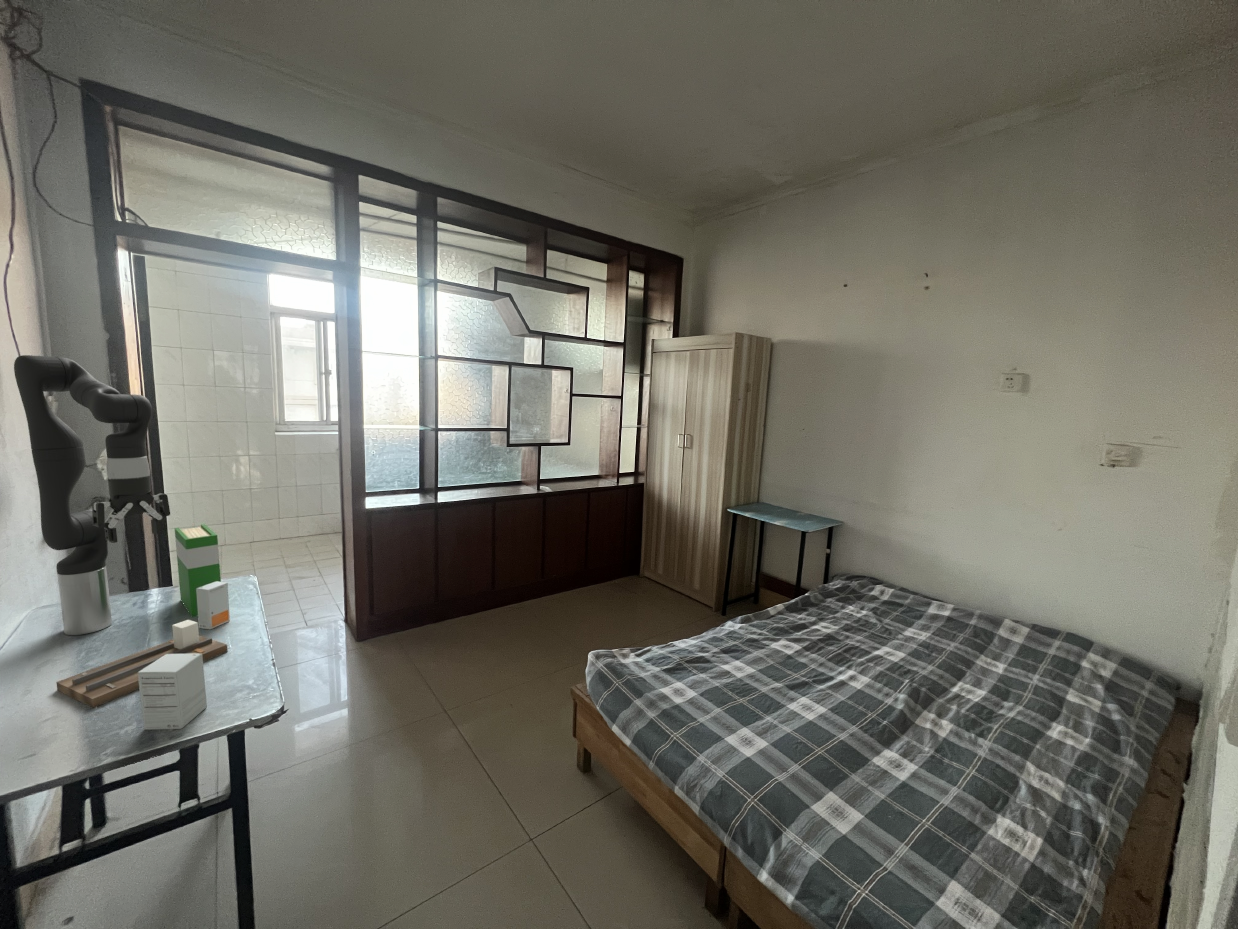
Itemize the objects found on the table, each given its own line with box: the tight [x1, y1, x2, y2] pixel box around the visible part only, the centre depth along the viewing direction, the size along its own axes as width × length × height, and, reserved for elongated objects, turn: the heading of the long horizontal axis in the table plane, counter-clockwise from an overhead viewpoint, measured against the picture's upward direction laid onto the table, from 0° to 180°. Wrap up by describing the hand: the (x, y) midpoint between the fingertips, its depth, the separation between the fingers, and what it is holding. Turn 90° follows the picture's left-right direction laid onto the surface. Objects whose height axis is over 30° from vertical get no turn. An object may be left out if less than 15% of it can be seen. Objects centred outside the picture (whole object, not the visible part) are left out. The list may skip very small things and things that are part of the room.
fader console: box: [56, 634, 228, 708], centre depth 120 cm, size 15×26×3 cm, turn 158°
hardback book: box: [174, 523, 222, 618], centre depth 155 cm, size 18×7×24 cm, turn 49°
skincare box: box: [196, 581, 231, 630], centre depth 143 cm, size 6×4×12 cm
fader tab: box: [171, 619, 200, 649], centre depth 127 cm, size 4×4×6 cm
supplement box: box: [138, 653, 208, 731], centre depth 102 cm, size 7×7×13 cm
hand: (135, 538), depth 125 cm, fingers open, 8 cm apart
